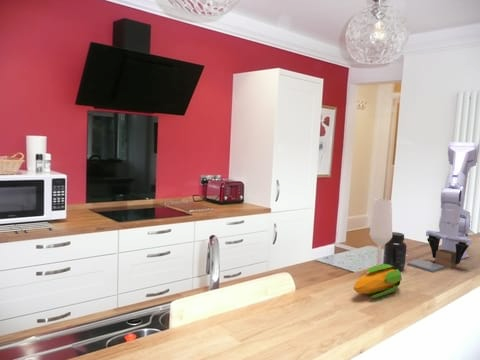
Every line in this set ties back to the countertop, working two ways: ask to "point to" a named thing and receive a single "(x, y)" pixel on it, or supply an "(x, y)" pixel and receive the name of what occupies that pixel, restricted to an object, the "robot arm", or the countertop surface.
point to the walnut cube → (445, 258)
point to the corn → (379, 280)
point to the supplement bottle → (395, 251)
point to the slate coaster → (426, 265)
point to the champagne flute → (381, 225)
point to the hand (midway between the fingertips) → (445, 260)
